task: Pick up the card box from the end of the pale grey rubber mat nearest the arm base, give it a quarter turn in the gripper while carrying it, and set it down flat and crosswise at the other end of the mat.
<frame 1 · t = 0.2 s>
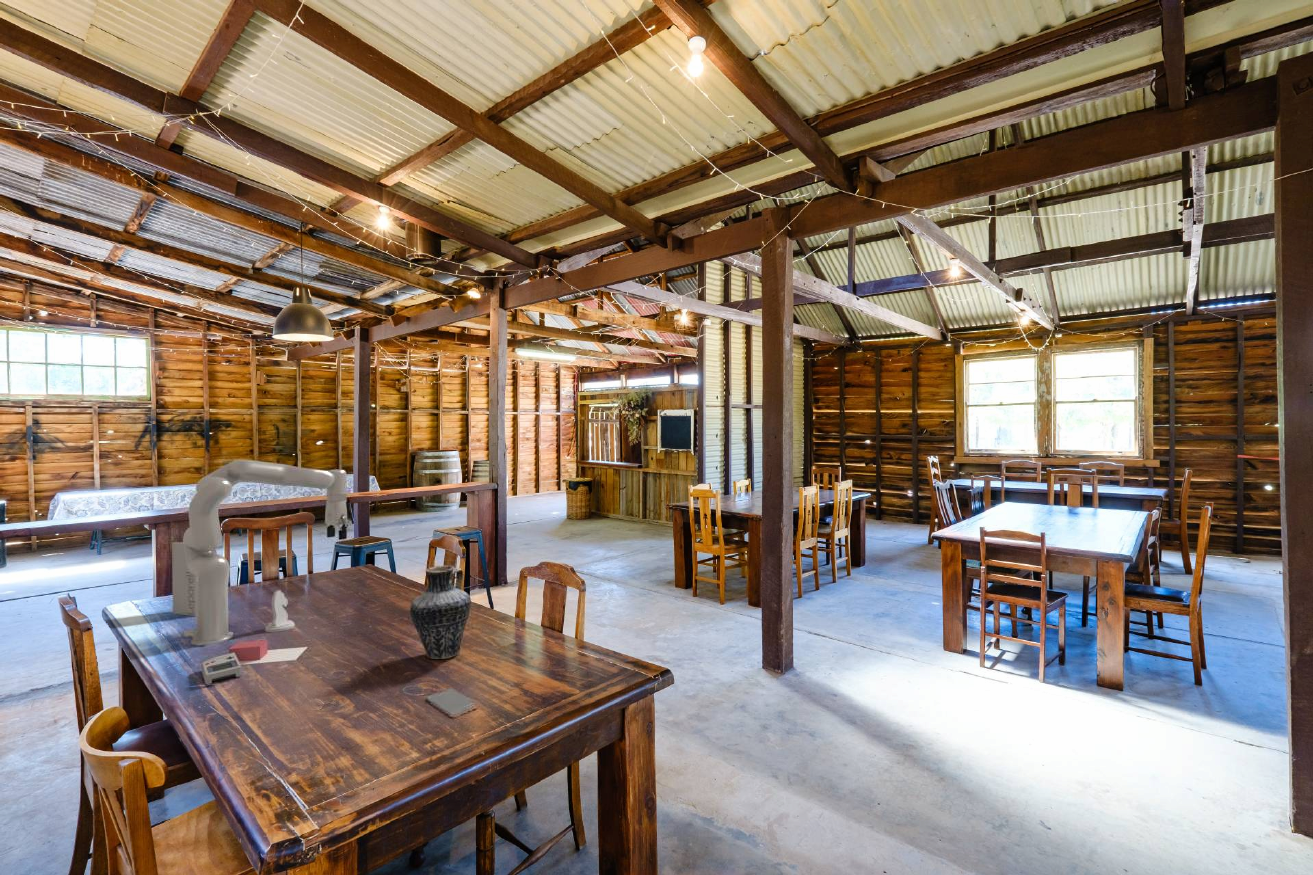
hand: (336, 538, 250), 31 cm above the table, tool pointing down, fingers open, 9 cm apart
card box: (248, 657, 196), resting on mat
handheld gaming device: (221, 674, 183), on the table, touching mat
jug: (442, 655, 200), on the table
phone: (452, 706, 163), on the table
brochure: (191, 613, 247), on the table
mat: (265, 657, 197), on the table
chess piece: (279, 628, 227), on the table
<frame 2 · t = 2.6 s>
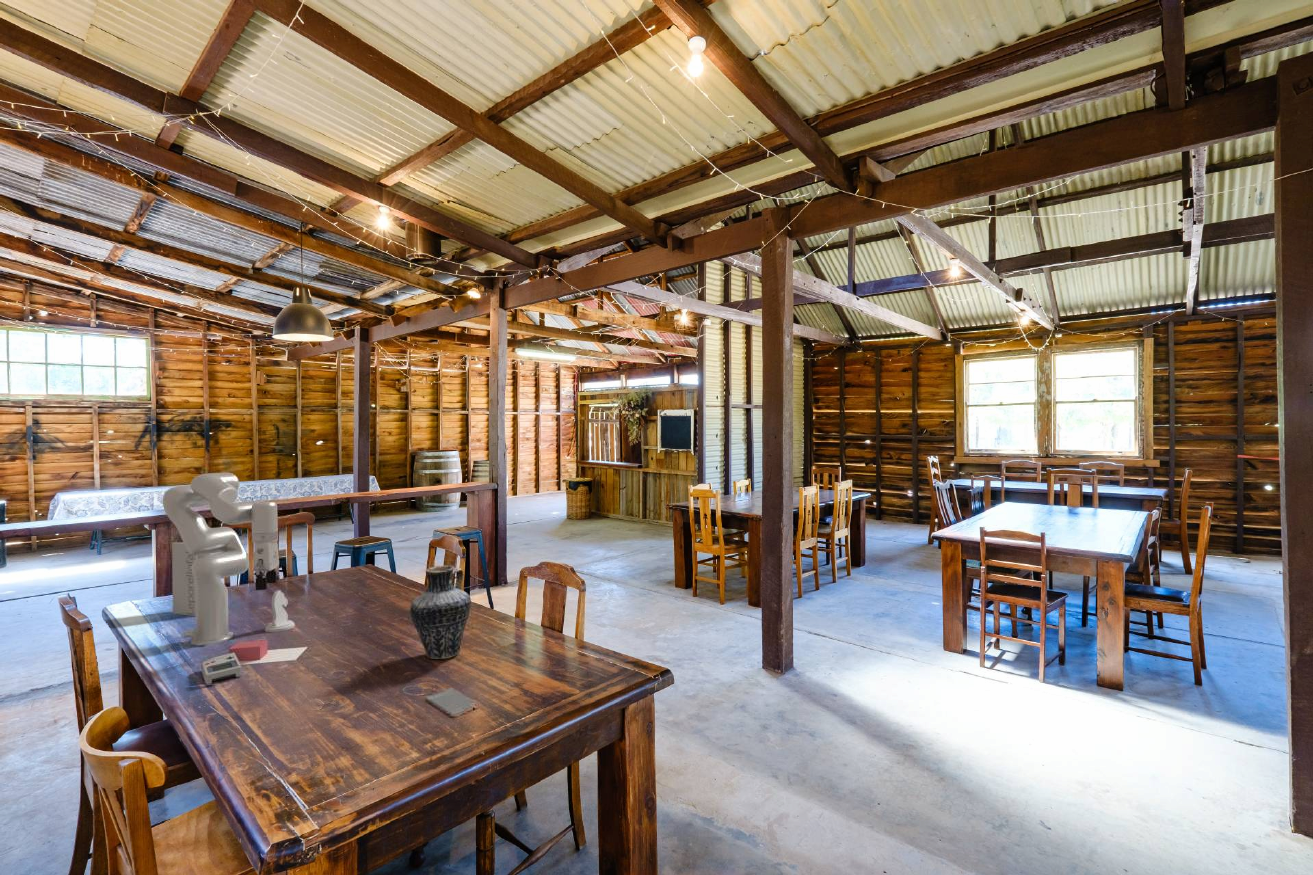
hand: (266, 586, 203), 23 cm above the table, tool pointing down, fingers open, 9 cm apart
nothing on the table moved.
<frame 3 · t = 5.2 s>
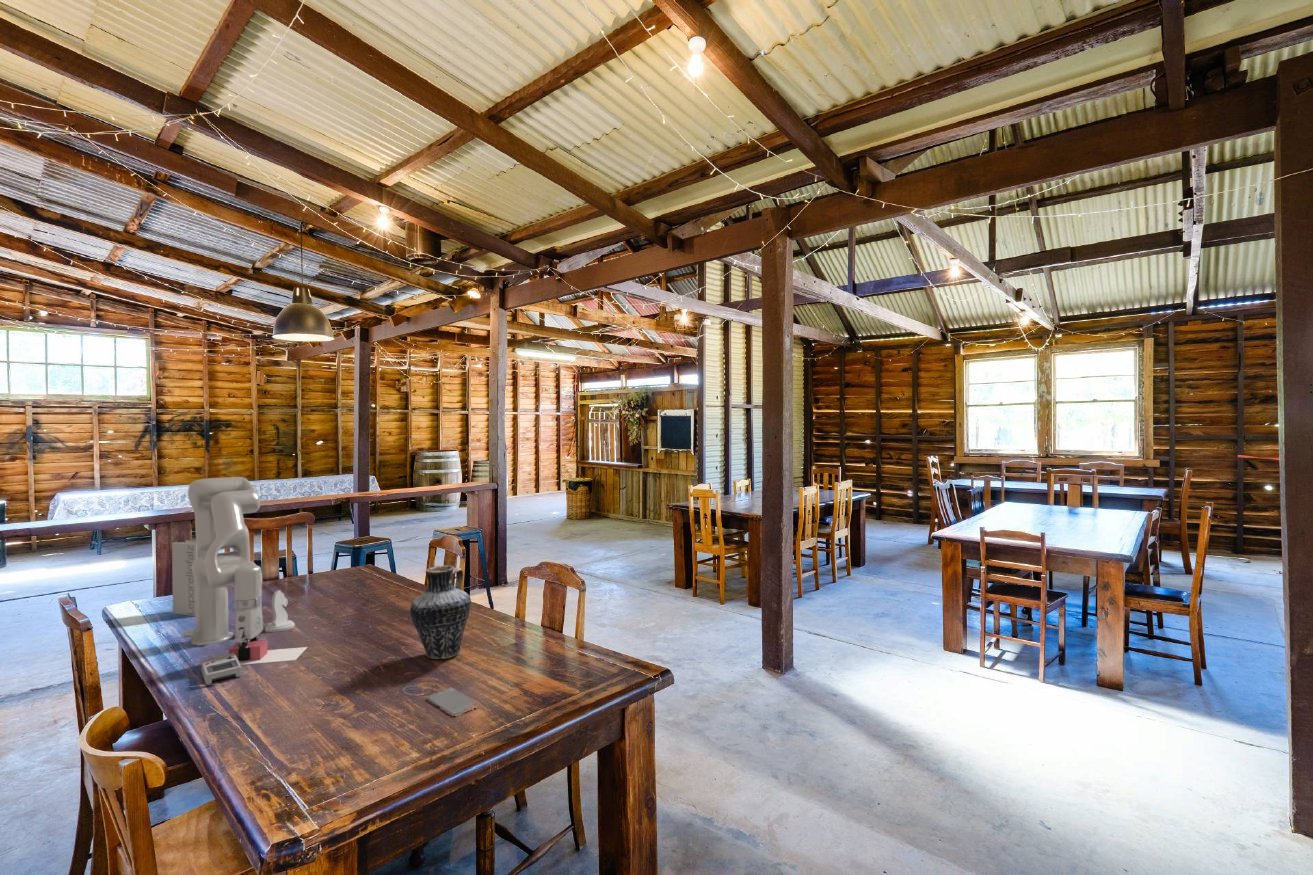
hand: (248, 655, 196), 1 cm above the table, tool pointing down, fingers closed on card box, 6 cm apart
card box: (248, 657, 196), resting on mat, touching gripper
everything else where it was.
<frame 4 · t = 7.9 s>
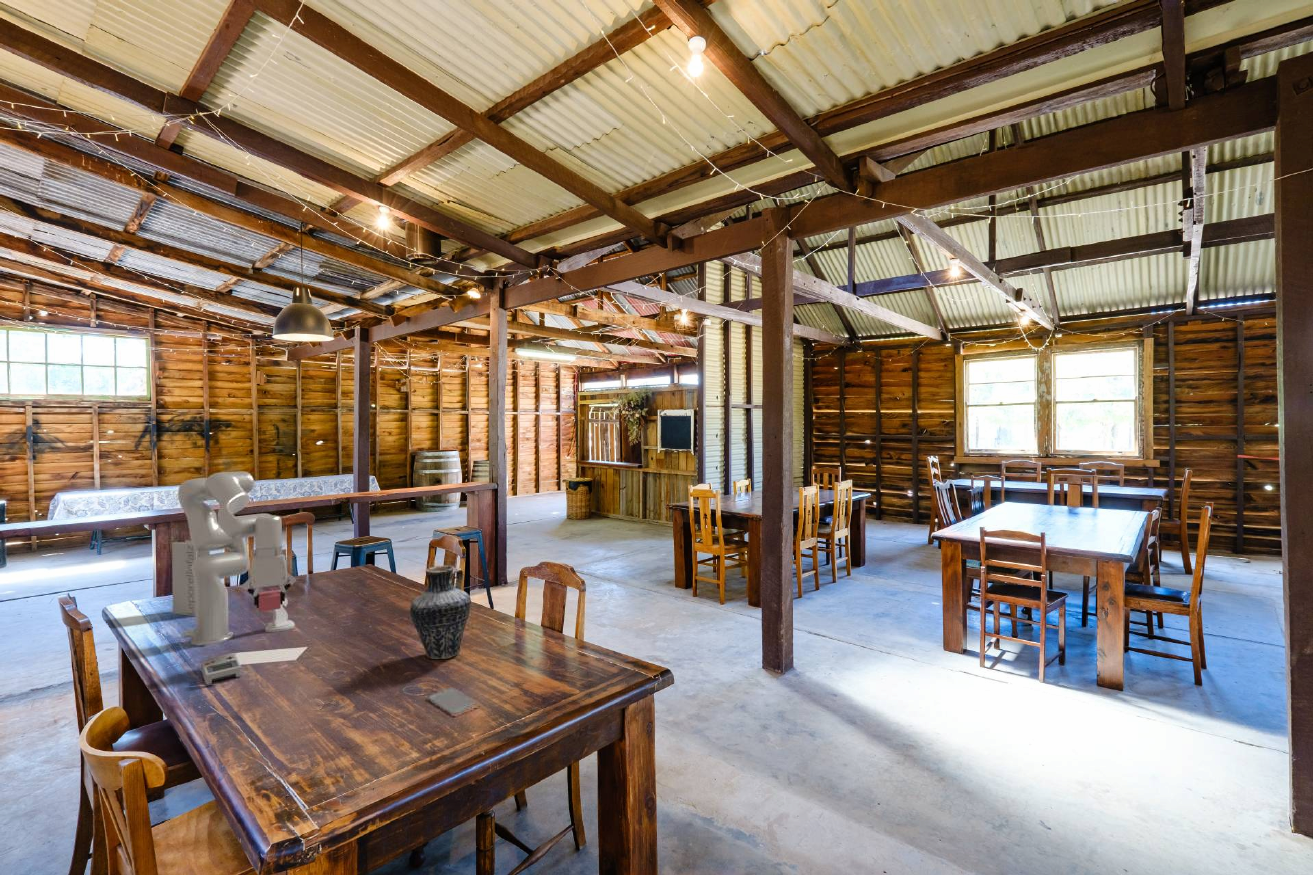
hand: (269, 604, 197), 18 cm above the table, tool pointing down, fingers closed on card box, 6 cm apart
card box: (269, 606, 197), point 17 cm above the table, touching gripper
everything else where it was.
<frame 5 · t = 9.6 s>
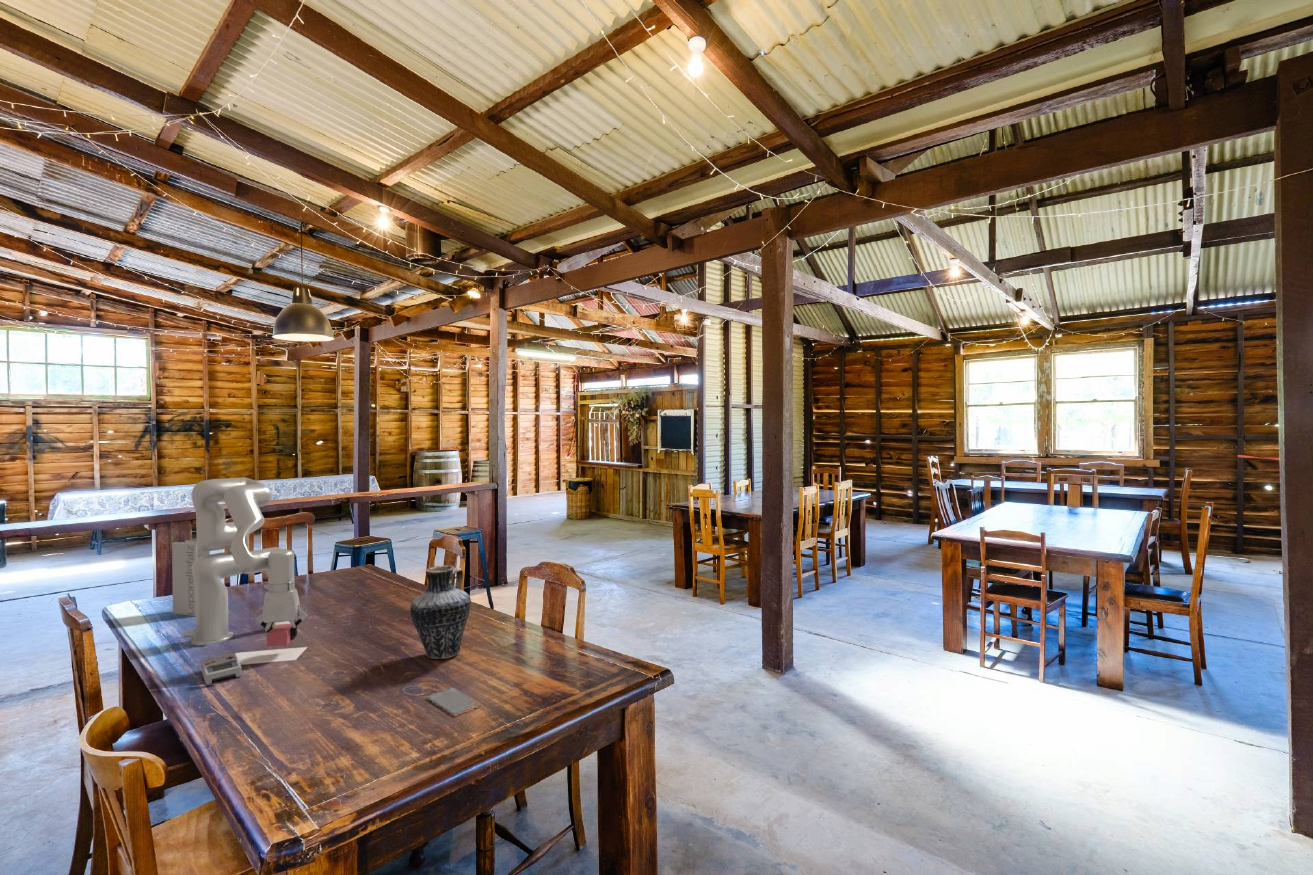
hand: (282, 639, 198), 6 cm above the table, tool pointing down, fingers closed on card box, 6 cm apart
card box: (282, 641, 198), point 5 cm above the table, touching gripper
everything else where it was.
when the fingers open (2 cm above the table, at t = 10.7 s): card box drops 1 cm, resting on mat.
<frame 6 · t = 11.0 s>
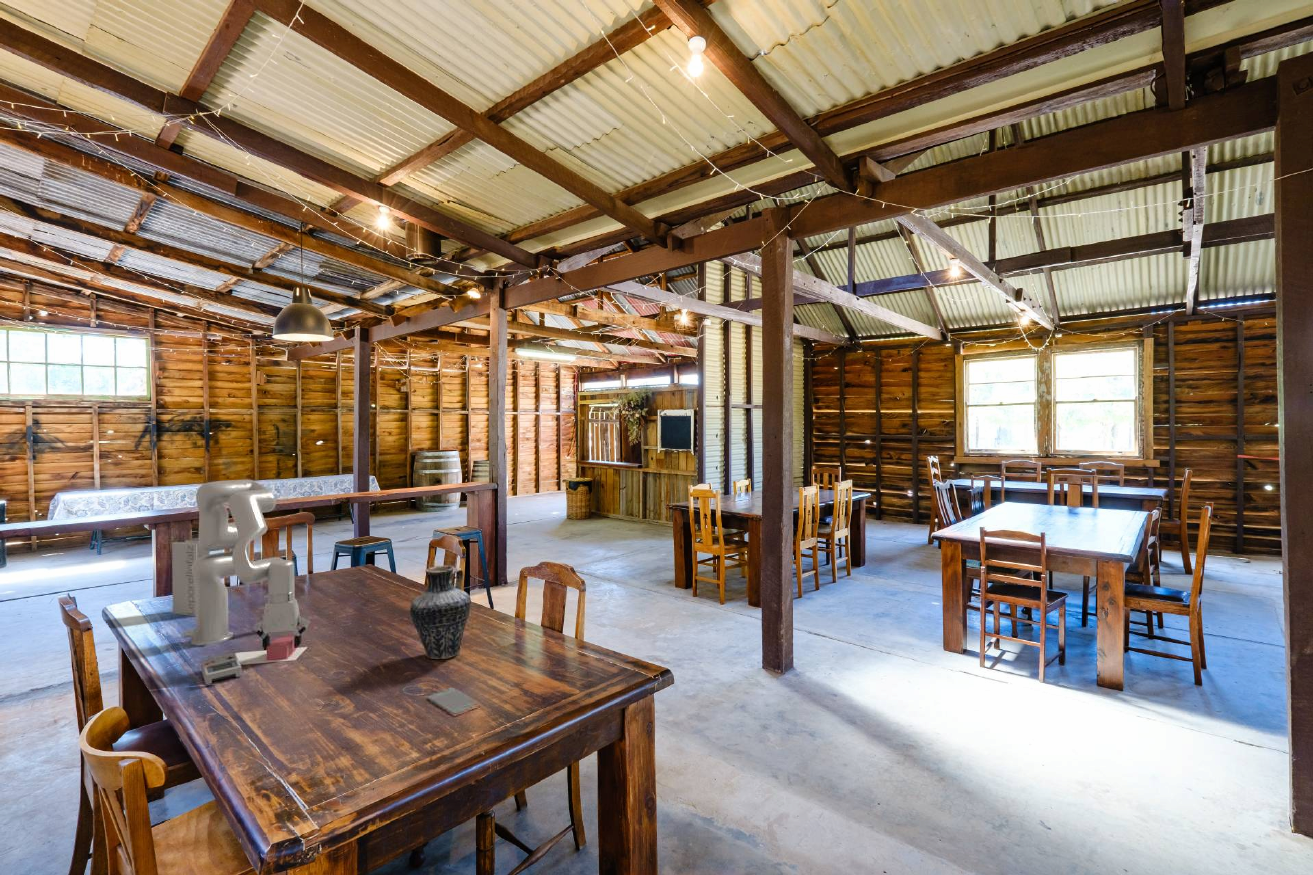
hand: (282, 647, 198), 3 cm above the table, tool pointing down, fingers open, 8 cm apart
card box: (282, 654, 198), resting on mat
everything else where it was.
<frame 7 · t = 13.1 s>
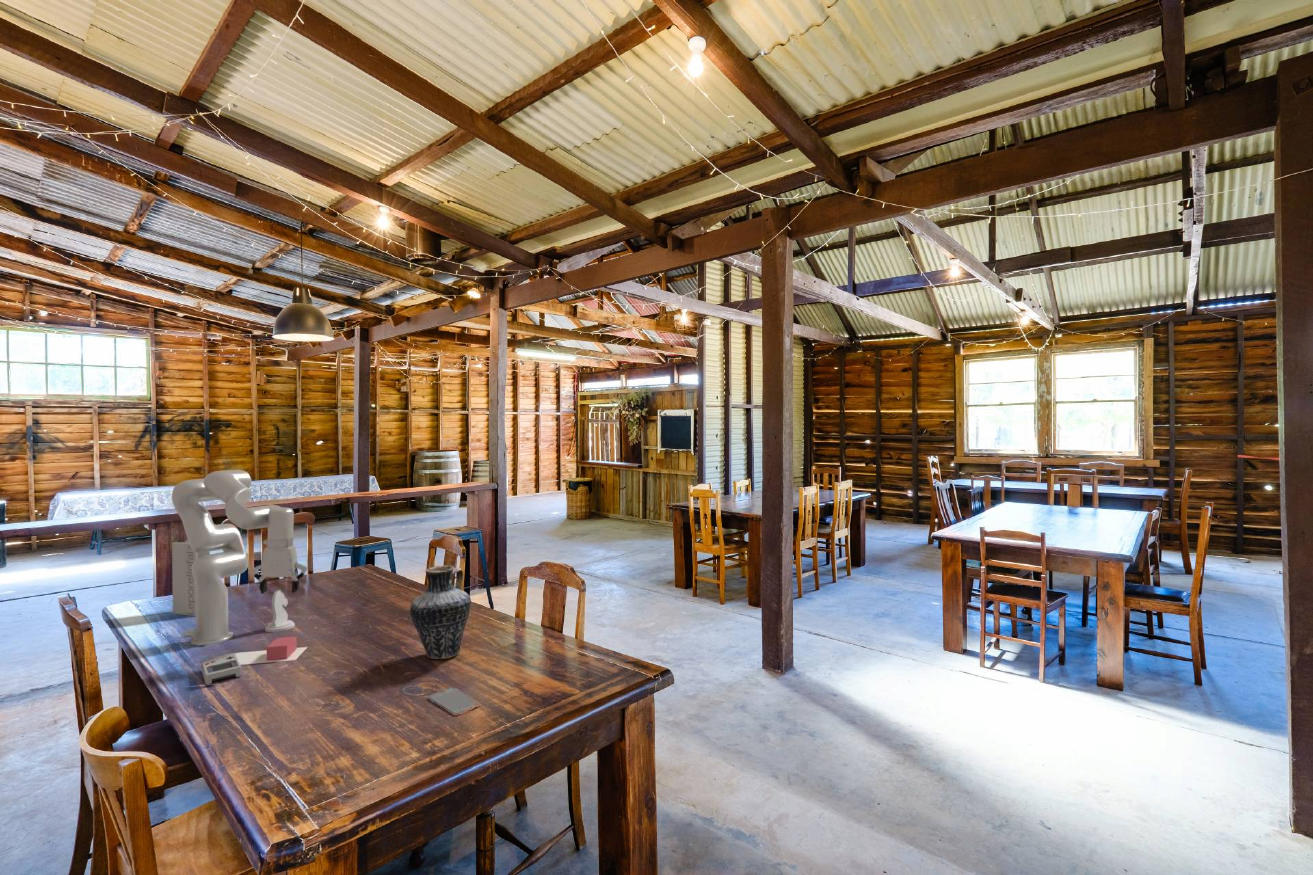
hand: (279, 592, 203), 21 cm above the table, tool pointing down, fingers open, 9 cm apart
nothing on the table moved.
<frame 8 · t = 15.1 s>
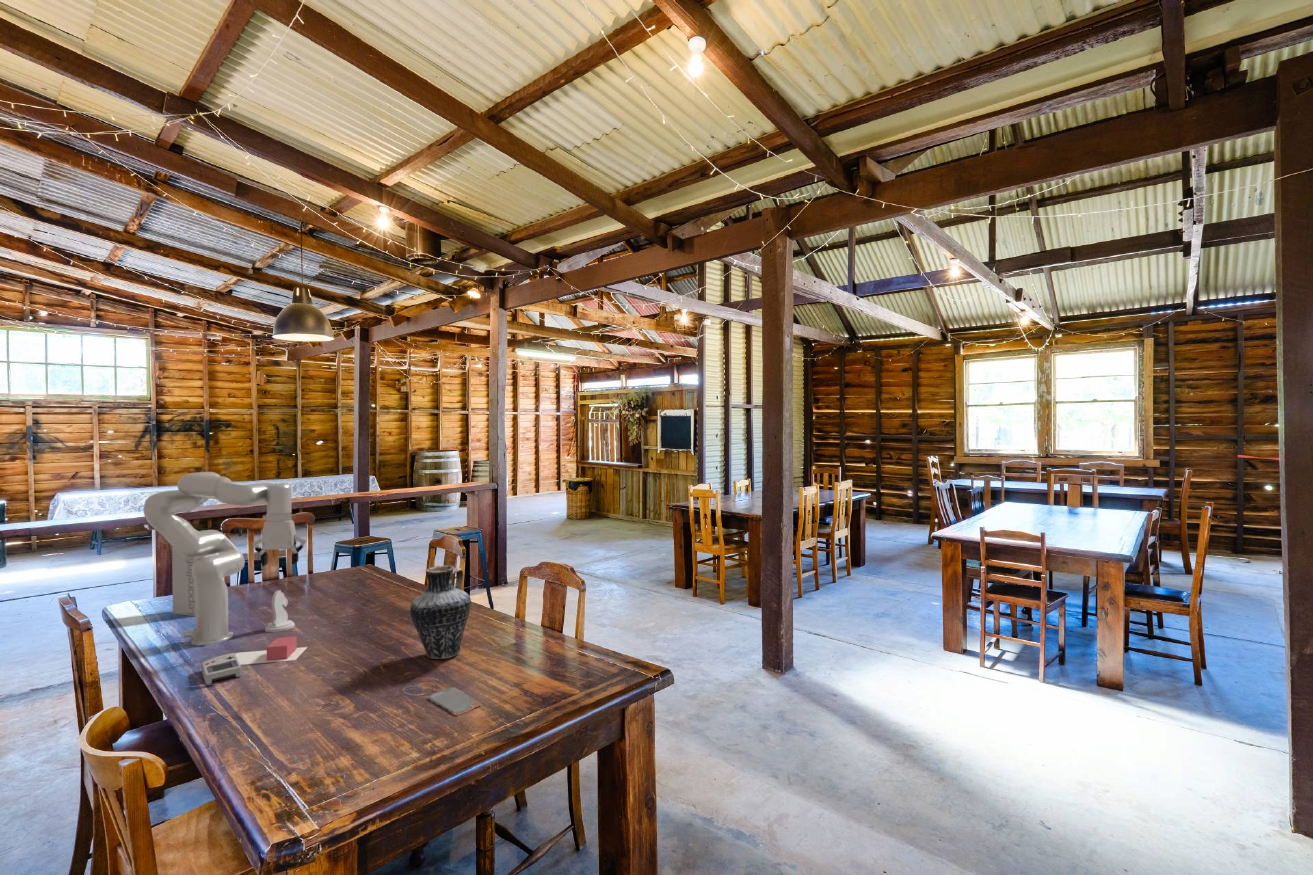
hand: (279, 564, 212), 28 cm above the table, tool pointing down, fingers open, 9 cm apart
at the end: card box inside the target area on the mat (0.5 cm from its centre), point 0.5 cm above the mat's base; card box tilted 0°; the gripper is holding nothing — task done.
